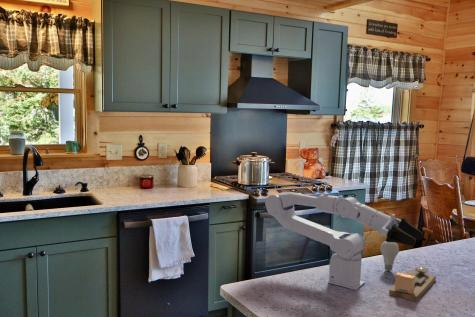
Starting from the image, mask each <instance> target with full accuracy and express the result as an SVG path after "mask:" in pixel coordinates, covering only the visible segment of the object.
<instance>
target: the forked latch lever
mask: <svg viewBox="0 0 475 317" xmlns="http://www.w3.org/2000/svg"><path fill="white" fill-rule="evenodd" d="M394 279H395V281H394V285H395V290H397V291H400V292H404V293H409V294H412V293H413V292H414V286H415V285H416V284H419V285H421V284H422V283H423V282H424V281H425V280H426V278H425V277H422V278H421V279H420V280H419V281H415V276H413V274H409V275H408V274H407V273H403V272H399V271H398V272H396V273H395V278H394Z"/></svg>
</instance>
